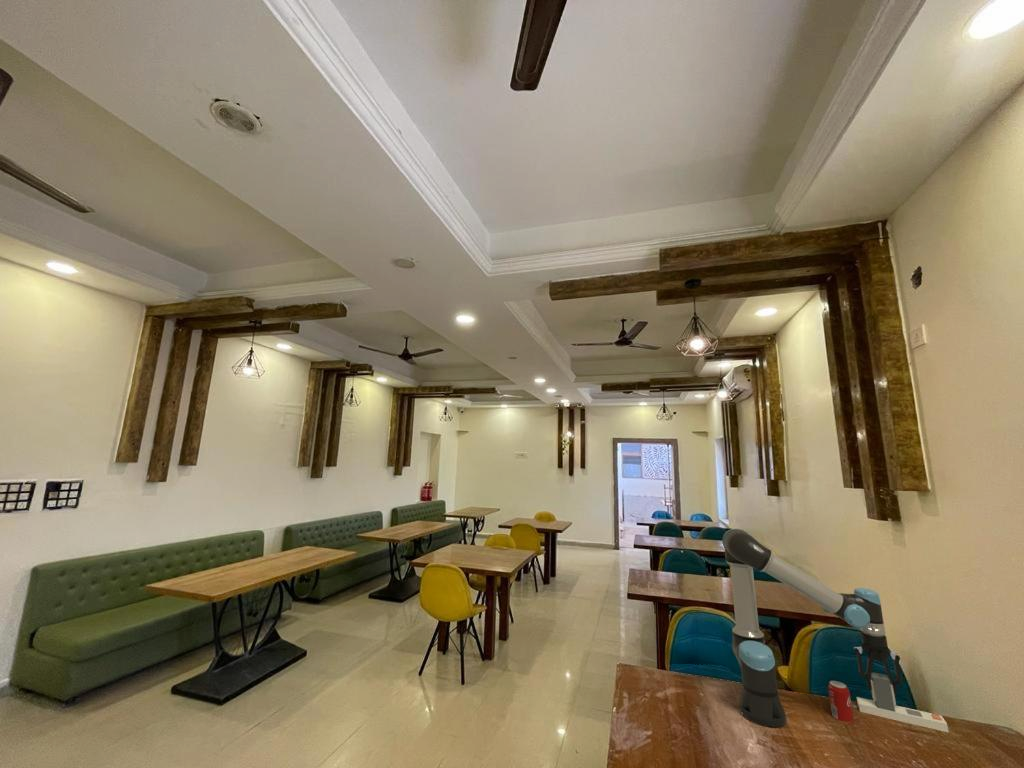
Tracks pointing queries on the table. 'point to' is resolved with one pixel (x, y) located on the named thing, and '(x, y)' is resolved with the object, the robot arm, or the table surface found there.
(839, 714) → the beverage can
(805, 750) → the table surface
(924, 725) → the power strip
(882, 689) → the charger
